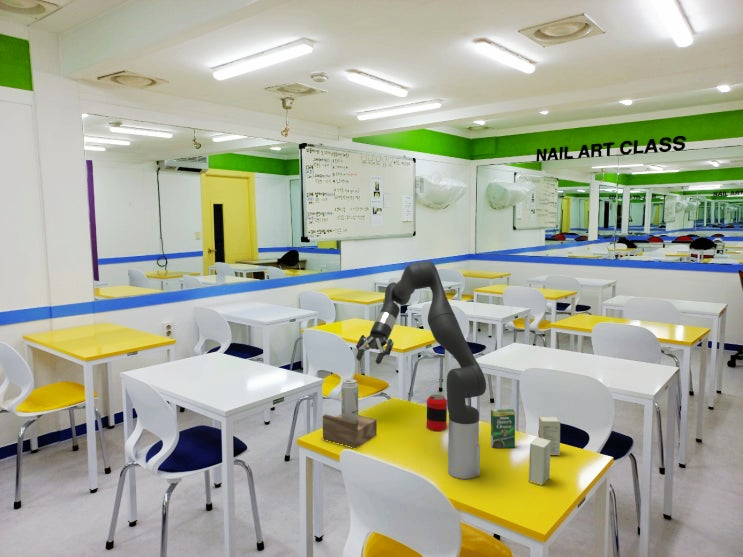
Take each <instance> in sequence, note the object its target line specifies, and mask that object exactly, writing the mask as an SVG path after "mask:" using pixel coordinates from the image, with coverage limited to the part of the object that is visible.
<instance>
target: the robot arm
mask: <svg viewBox="0 0 743 557" xmlns="http://www.w3.org/2000/svg"><path fill="white" fill-rule="evenodd" d="M426 288H429V289H430V291H431V294H432V297H431V298H432V299H431V304H430V306H429V310H428V313H427V323H428V324H427V325H428V327H429V329H430V332H431V335H432V336H433V339H434V340H435V341H436V342H437V343H438V344H439V345H440V346H441V347H442V348H444V350H446V351H447V352H448V353H449V354H450V355H451V356H453V358H454V359H456V362H457V363H458V365H459V366H460V367H457V368H452V369H450V370H449V371H448V372H447V375H446V400H447V411H448V412H447V413H448V437H447V438H448V441H447V442H448V443H447V447H448V449H447V473H448V474H449V475H450V476H452V477H453V478H457V479H460V480H461V479H464V480H470V479H474V478H475V477H480V475H481V474H480V472H481V446H480V444H479V438H480V436H479V434H480V433H479V432H480V431H479V430H480V429H479V428H480V411H479V410H478V409H477V408H476V407H474V406H471V405H468V404H466V399H469V398H475V397H480V396H483V395H484V394H485V393H486V390H487V380H486V377H485V374H484V372H483V370H482V368H481V366H480V364H479V363H478V361H477V359H476V357H475V355H474V354H473V352H472V350H471V348H470V347H469V344H468V342H467V340H466V337H465V336H464V333H463V331H462V329H461V327H460V323H459V321H458V318H457V317H456V314H455V313H454V309H453V308H452V306H451V304H450V302H449V300H448V297H447V294H446V291H445V289H444V286H443V283H442V280H441V277H440V274H439V272H438V269H437V266H436V265H435V263H433V261H430V260H427V261H421V262H414V263H413V262H412V263H410V264H408V265H406V267H405V268H404V270H403V273H402V274H401V278H400V280H398V281H397V282H393V281H392V282H390V283H389V284H388V285H387V286H386V289H385V292H384V301H383V305H382V307H381V309H380V312H379V314H378V315H377V317H376V319H375V321H374V323H373V325H372V327H371V329H370V332H369V333H370V334H369V335H368V336H365V335H364V334H362V335H361V336H360V338H359V340H358V342H357V344H356V345H355V348H356V350H357V351H358V352H357V353H356V356H355V357H356V360H357V361H359V362H360V361H361V360H362V358H363V355H364V353H365V352H367V351H369V350H377V351H378V350H379V353H378V355H377V356H376V358H375V363H376V364H377V365H380V364H381V363H382V362H383V359H384V357H385V356H390V355H391V353H392V352H391V351H392V350H393V347H394V345H395V344H394V341H393V340H392V338H390V336H391V334H392V331H393V329H394V327H395V324H396V320H397V319H398V315H399V313H400V307H399V305H400V306H406V305H407V304H408V303H409V301H410V299H411V296H412V294H413V293H415V291H416V290H420V289H421V290H422V289H426ZM384 346H386V347H385V348H384Z"/></svg>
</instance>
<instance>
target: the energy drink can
mask: <svg viewBox="0 0 743 557" xmlns="http://www.w3.org/2000/svg"><path fill="white" fill-rule="evenodd" d="M341 414H342V419H346V420H350V421H354V422H357V420H358V415H359V384H358V383H357V379H353V378H348V379H343V381H342V384H341Z"/></svg>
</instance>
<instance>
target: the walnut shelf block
mask: <svg viewBox="0 0 743 557" xmlns="http://www.w3.org/2000/svg"><path fill="white" fill-rule="evenodd" d="M377 422H378V421H377V418H372V417H367V416H364V415H360V414H358V420H357V422H354V421H350V420H346V419H342V413H341V414H338V415H336V416H333V415H329V414H327V413H326V414H324V415H322V440H323V439H324V440H323V441H325V440H328V441H331V442H330V443H332V442H335V443H339V444H343V445H347V446H350V447H352V448H351V449H353V448H356V449H357V447H358V446H359V447H360V445H361V446H363V445H364V444H365V443H367V442H369V441H370V440H372V439H373V438H375V437H376V436H377V434H378V433H377V431H378V430H377V429H378V428H377V426H378V424H377ZM328 441H327V442H328ZM335 443H334V444H335ZM339 444H338V445H339ZM350 447H349V448H350ZM359 447H358V448H359Z"/></svg>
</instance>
